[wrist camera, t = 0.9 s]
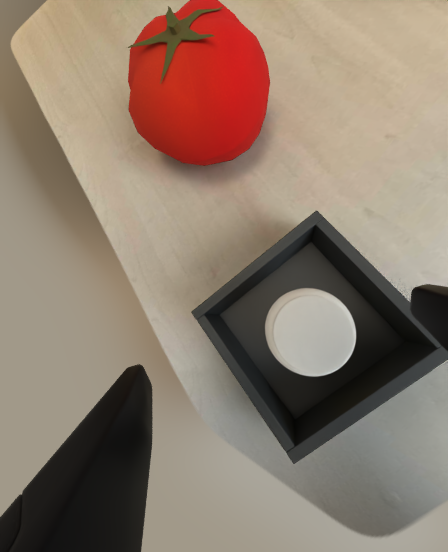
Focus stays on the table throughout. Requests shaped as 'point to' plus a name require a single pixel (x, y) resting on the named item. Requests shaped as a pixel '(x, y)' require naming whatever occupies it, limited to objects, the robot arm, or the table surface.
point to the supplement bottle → (310, 332)
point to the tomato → (198, 84)
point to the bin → (365, 357)
